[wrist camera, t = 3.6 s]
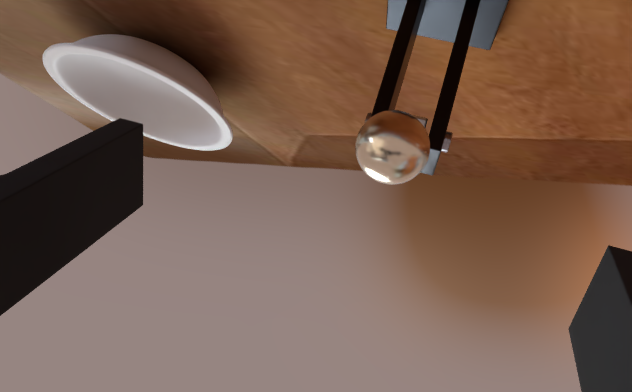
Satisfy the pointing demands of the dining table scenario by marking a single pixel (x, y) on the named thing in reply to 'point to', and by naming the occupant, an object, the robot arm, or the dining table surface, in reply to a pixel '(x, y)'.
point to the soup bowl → (141, 88)
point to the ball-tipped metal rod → (393, 146)
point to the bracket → (444, 24)
